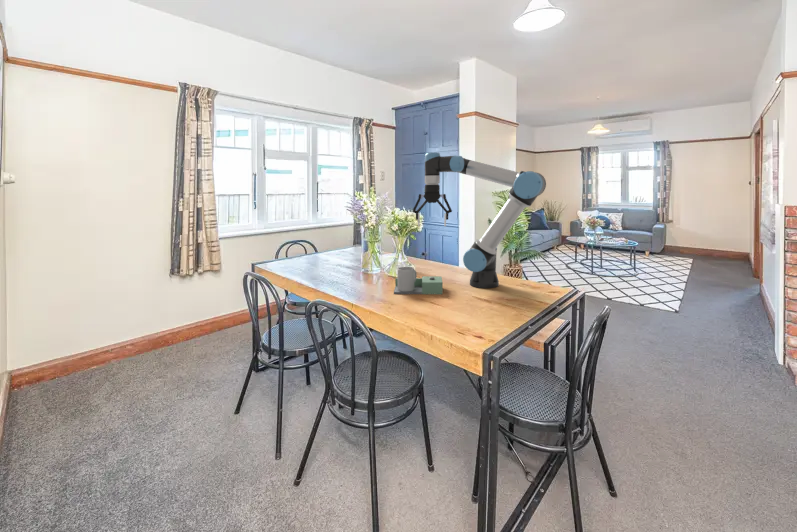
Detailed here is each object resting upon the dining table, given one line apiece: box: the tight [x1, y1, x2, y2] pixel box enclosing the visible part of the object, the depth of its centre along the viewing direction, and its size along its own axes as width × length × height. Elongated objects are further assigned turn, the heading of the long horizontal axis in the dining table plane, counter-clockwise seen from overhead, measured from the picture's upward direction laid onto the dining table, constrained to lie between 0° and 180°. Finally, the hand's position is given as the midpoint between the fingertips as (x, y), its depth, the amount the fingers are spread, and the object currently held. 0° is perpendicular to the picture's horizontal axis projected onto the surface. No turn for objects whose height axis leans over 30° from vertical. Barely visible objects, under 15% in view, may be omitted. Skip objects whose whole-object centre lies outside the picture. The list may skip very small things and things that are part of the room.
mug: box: [397, 266, 418, 292], centre depth 197 cm, size 12×8×11 cm
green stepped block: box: [393, 275, 444, 295], centre depth 198 cm, size 24×13×7 cm, turn 86°
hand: (431, 226), depth 203 cm, fingers open, 13 cm apart
